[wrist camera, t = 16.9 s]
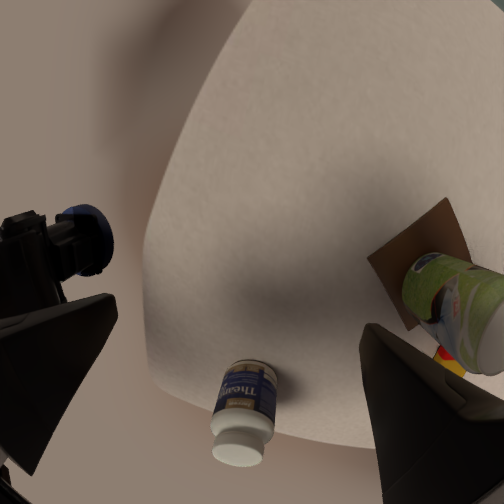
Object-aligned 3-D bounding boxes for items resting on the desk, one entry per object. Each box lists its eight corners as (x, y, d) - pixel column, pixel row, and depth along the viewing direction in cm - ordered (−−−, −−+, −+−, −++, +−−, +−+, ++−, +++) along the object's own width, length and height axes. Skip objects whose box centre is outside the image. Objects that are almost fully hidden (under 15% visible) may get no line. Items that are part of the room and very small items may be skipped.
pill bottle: (259, 350, 25) (247, 434, 15) (286, 385, 26) (284, 464, 16) (214, 368, 26) (188, 444, 17) (243, 400, 27) (228, 473, 18)
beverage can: (400, 320, 22) (455, 416, 10) (390, 246, 20) (475, 324, 9) (454, 298, 20) (524, 373, 9) (450, 225, 19) (548, 277, 7)
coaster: (407, 329, 22) (408, 331, 22) (366, 257, 21) (368, 259, 20) (474, 275, 20) (476, 276, 20) (445, 197, 18) (447, 197, 18)
